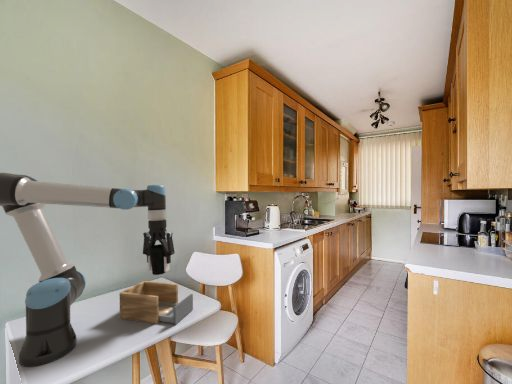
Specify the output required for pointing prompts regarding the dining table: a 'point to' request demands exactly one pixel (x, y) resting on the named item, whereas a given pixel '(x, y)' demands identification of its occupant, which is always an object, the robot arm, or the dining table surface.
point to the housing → (146, 300)
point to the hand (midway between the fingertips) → (159, 270)
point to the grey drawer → (175, 310)
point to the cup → (157, 259)
